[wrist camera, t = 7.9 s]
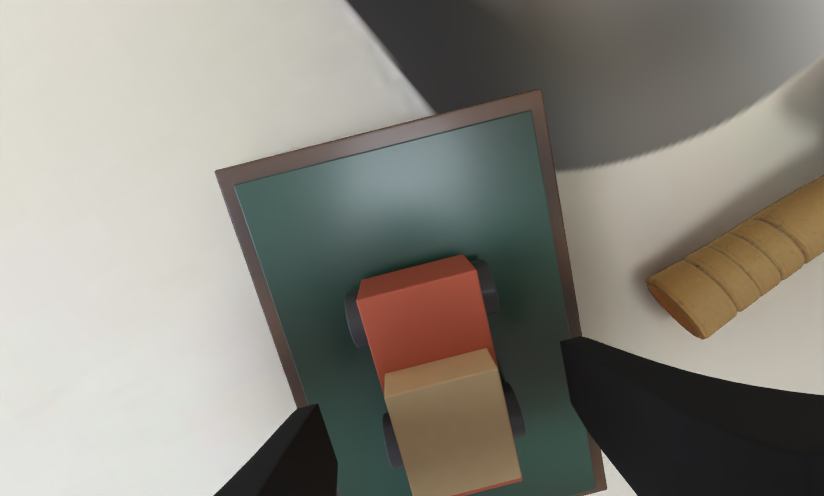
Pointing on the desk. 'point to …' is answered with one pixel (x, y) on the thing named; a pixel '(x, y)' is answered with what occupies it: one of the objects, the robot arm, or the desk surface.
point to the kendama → (743, 262)
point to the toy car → (440, 375)
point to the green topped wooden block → (411, 246)
